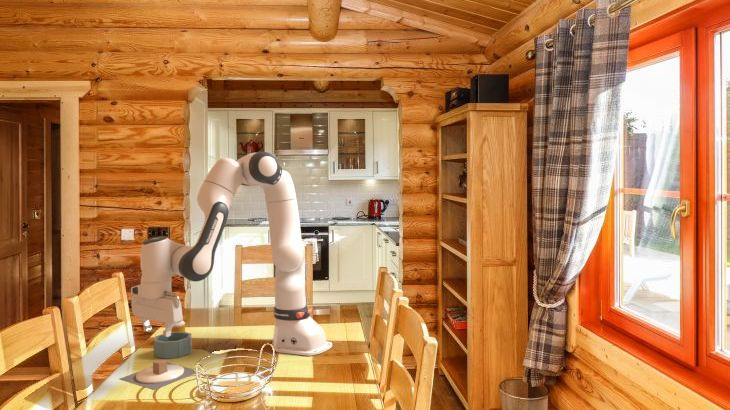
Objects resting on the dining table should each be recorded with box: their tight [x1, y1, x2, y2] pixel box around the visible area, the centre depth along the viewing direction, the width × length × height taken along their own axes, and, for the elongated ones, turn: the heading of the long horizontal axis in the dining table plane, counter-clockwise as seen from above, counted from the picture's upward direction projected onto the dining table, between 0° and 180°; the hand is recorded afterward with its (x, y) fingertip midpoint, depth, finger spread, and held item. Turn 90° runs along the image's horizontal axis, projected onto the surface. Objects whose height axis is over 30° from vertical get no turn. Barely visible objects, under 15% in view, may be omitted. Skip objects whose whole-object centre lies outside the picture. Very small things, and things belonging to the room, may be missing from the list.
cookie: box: [202, 340, 245, 354], centre depth 194 cm, size 12×12×1 cm
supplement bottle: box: [171, 315, 186, 332], centre depth 203 cm, size 5×5×10 cm
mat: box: [119, 361, 196, 391], centre depth 168 cm, size 17×17×1 cm
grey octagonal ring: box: [153, 331, 193, 360], centre depth 189 cm, size 12×12×6 cm
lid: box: [136, 358, 184, 384], centre depth 168 cm, size 14×14×4 cm
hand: (157, 333), depth 167 cm, fingers open, 8 cm apart
